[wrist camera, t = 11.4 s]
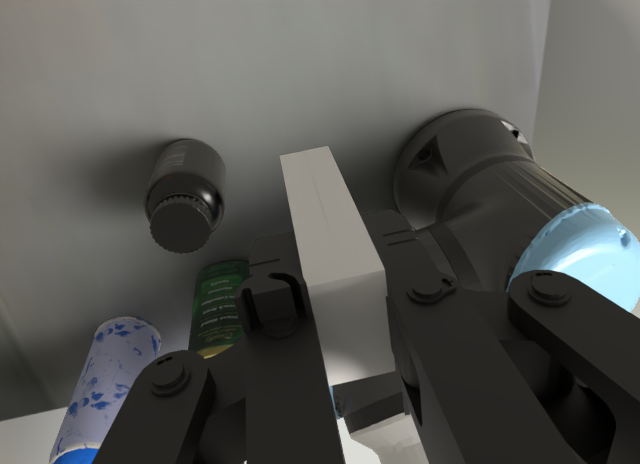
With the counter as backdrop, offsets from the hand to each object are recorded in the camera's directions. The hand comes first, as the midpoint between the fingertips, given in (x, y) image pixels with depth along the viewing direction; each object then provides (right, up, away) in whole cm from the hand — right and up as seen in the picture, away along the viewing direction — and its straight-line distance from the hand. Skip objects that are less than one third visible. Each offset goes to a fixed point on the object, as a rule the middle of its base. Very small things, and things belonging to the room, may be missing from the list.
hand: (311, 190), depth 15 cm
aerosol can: (-23, -15, +43) cm, 51 cm away
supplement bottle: (-13, +5, +33) cm, 36 cm away
